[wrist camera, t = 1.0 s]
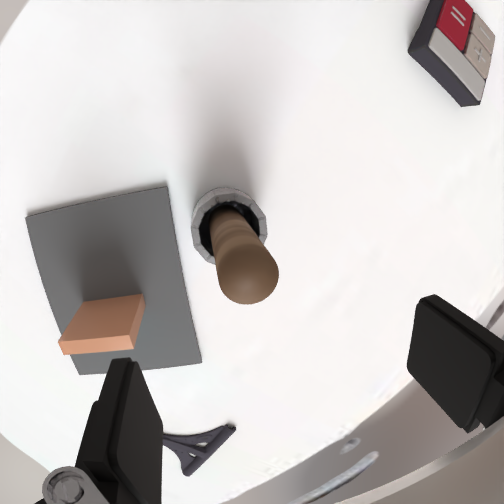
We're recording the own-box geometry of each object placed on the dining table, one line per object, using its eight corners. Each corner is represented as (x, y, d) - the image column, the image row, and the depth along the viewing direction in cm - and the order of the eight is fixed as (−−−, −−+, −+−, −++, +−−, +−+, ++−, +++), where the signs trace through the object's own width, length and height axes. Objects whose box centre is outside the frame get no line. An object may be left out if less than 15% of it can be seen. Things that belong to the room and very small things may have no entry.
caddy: (188, 192, 29) (186, 199, 25) (252, 183, 30) (262, 189, 25) (197, 254, 31) (198, 272, 27) (259, 244, 32) (269, 260, 27)
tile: (83, 301, 30) (57, 341, 23) (142, 293, 31) (128, 334, 23) (87, 314, 31) (64, 356, 23) (146, 307, 32) (134, 350, 24)
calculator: (498, 36, 25) (484, 106, 27) (479, 41, 29) (461, 108, 31) (449, -19, 22) (427, 44, 24) (431, -10, 26) (405, 53, 28)
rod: (206, 207, 29) (214, 252, 16) (240, 202, 29) (276, 243, 16) (211, 240, 30) (223, 308, 17) (244, 235, 30) (280, 298, 17)
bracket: (138, 387, 36) (135, 402, 33) (235, 424, 40) (238, 438, 38) (106, 440, 38) (104, 453, 36) (190, 469, 43) (191, 482, 40)
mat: (27, 216, 27) (25, 217, 26) (167, 186, 29) (166, 187, 28) (80, 372, 33) (79, 374, 33) (201, 360, 35) (202, 363, 35)
